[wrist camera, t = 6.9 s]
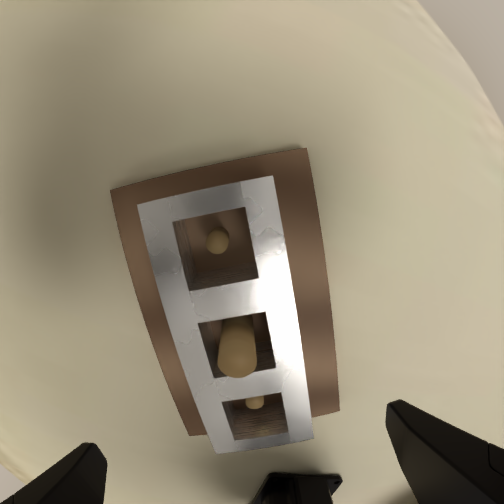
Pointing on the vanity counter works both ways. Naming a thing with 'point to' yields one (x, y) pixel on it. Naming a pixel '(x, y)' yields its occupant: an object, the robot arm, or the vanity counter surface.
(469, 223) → the vanity counter surface
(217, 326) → the post stand
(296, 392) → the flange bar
